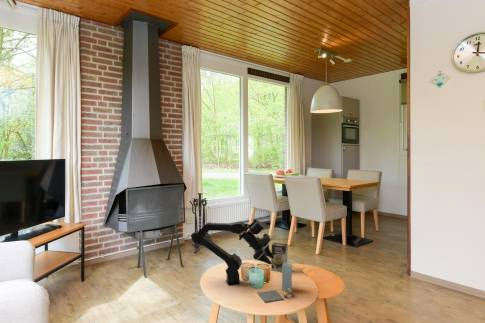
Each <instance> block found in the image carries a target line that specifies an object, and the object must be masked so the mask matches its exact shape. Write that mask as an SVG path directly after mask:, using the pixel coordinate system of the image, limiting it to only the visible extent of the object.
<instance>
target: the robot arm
mask: <svg viewBox="0 0 485 323" xmlns="http://www.w3.org/2000/svg"><path fill="white" fill-rule="evenodd" d="M264 228H265V225H264V224H263V222H262V221H260V220H258V219H256V218H255V219H254V220H252V222H251V223H245V222H243V221H234V222H229V223H225V222H224V223H223V222H206V223H205V224H204V225H203V227H201V228H200V229H199V230H197V231H196V232H194V233H193V234H192V235H191V241H192V242H193V243H194V244H197V245H199V246H202V247H205V248H206V249H207V250H209V251H210V252H212V253H213V254H214V255H215V256H217V257H219V258H220V259H221V260H223V262H225V264H226V266H227V267H226V269H225V273H226V279H225V282H226V284H227V285H228V286H234V285H240V273H239V270H240V268H241V267H242V264H243V260H242V258H241V256H239V255H237V253H235V252H234V253H233V254H230V253H228V252H227V251H226V250H225V249H223V248H222V247H220V246H219V245H218V244H216V243H215V242H214V241H213V240H211V239H210V238H209V236H208V235H207V233H209V231H215V232H217V231H218V232H229V233H232V234H237V235H238V237H239V238H238V239H239V241H241V240H242V239H243V240H244V241H245V242H246V243H247V244H248V247H249V248H252V249H253V250H254V251H253V252H254V254H253V256H252V257H253V259H254V260H255V261H259V262H262V263H265V264H268V265H270V266H271V264H272V263H271V258H272V259H273V258H274V256H273V255H272V250H270V244H269V243H270V242H271V241H272V239H271V235H269V234H267V233H264V234H262V235H263V236H262V237H259V236H256V235H259V234H260V233H261V232H262V230H264ZM269 258H270V259H269Z"/></svg>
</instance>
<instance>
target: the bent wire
mask: <svg viewBox="0 0 485 323" xmlns="http://www.w3.org/2000/svg"><path fill="white" fill-rule="evenodd" d="M288 296H291V297H292V298H294V297H295V292H294V291H293V290H292V288H289V289H288V291H287V292H286V291H284V292H283V299H287V298H288Z"/></svg>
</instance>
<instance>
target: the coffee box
mask: <svg viewBox="0 0 485 323" xmlns="http://www.w3.org/2000/svg"><path fill="white" fill-rule="evenodd" d="M271 253H272V255H273V256H274V258H273V259H272V258H270V261H271V263H272V264H271V265H270V266H271V271H272V272H280V273H282V265H283V263H288V243H281V242H273V243H272V244H271Z"/></svg>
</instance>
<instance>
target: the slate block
mask: <svg viewBox="0 0 485 323" xmlns="http://www.w3.org/2000/svg"><path fill="white" fill-rule="evenodd" d="M292 272H293V263H290V262H287V263H283V265H282V272H281V290H282V291H284V292H286V291H287V292H288V289H289V288H291V289H292V287H293V286H292V285H293V283H292V282H293V273H292Z"/></svg>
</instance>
